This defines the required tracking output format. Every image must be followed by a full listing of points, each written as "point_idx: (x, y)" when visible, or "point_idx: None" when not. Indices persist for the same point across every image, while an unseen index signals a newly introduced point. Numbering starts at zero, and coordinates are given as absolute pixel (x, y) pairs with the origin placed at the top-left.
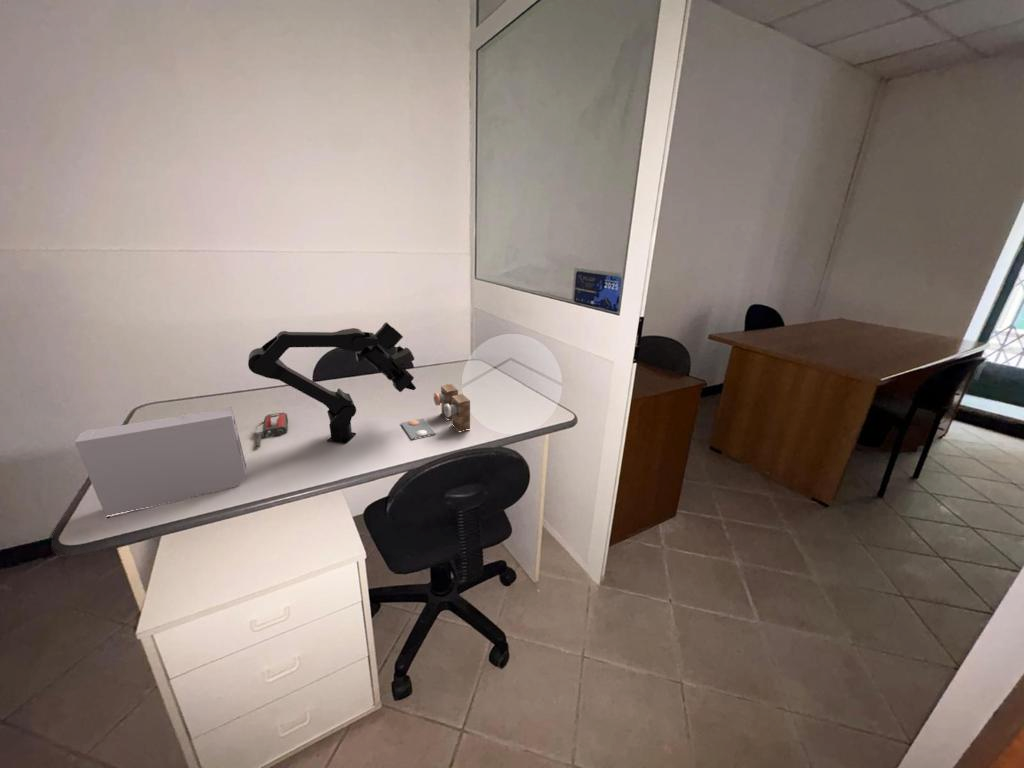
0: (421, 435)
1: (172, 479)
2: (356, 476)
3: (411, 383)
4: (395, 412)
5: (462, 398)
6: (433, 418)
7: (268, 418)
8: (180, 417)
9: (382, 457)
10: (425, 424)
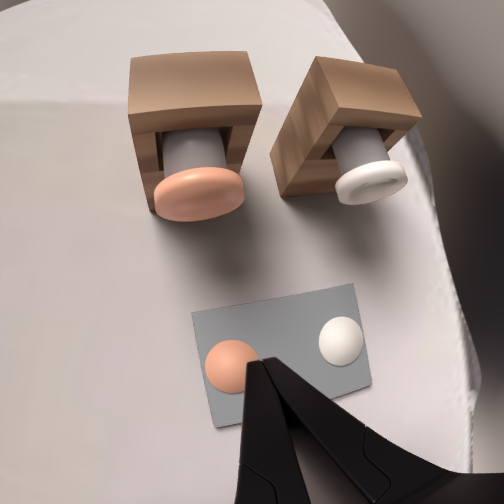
0: (362, 343)
1: None
2: None
3: (350, 422)
4: (73, 426)
5: (373, 81)
6: (189, 260)
7: None
8: None
9: (431, 462)
10: (264, 313)
